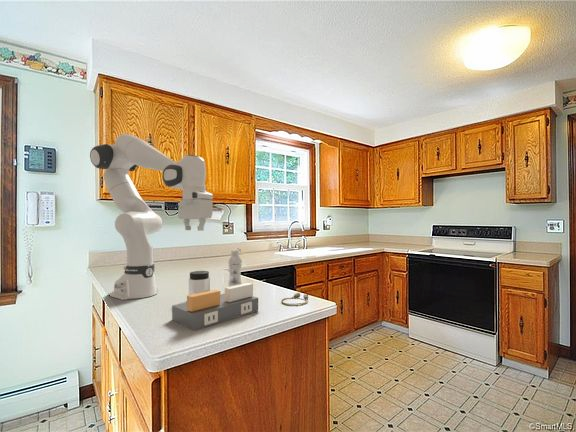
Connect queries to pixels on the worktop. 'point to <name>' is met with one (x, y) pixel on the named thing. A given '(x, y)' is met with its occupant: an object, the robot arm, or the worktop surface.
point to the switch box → (213, 312)
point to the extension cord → (297, 298)
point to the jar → (199, 282)
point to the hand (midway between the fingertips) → (194, 230)
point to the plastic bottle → (235, 269)
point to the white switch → (238, 292)
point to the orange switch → (203, 300)
